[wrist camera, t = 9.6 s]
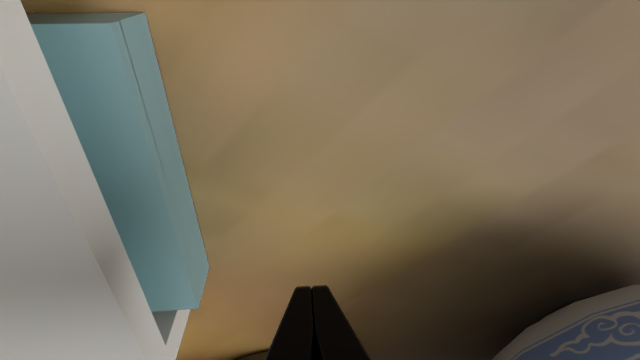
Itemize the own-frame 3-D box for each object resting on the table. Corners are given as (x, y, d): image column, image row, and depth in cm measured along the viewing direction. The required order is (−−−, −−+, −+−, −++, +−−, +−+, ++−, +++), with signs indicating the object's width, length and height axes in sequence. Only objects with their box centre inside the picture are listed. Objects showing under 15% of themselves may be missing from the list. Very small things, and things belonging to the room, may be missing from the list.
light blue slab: (144, 12, 11) (110, 23, 9) (209, 267, 18) (198, 308, 15) (-184, 15, 11) (-303, 27, 8) (7, 278, 17) (-33, 322, 15)
